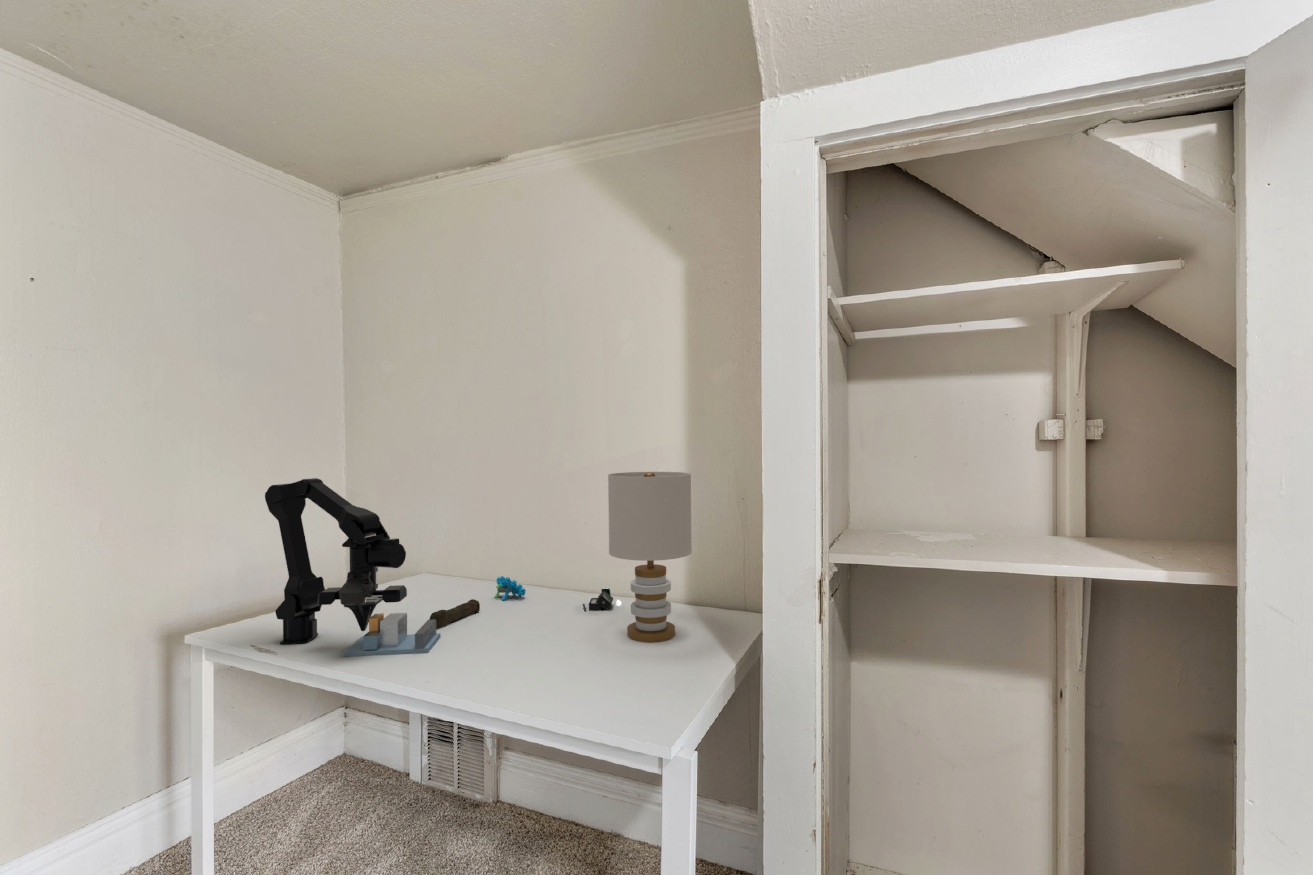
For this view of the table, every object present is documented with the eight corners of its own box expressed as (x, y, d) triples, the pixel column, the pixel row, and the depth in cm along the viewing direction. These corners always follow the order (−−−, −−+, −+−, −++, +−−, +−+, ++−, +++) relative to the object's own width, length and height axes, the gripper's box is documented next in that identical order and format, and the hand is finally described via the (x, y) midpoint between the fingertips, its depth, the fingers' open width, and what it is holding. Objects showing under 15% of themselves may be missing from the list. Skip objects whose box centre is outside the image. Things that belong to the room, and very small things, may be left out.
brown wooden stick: (469, 611, 175) (469, 595, 175) (480, 613, 173) (480, 597, 173) (420, 631, 157) (420, 614, 157) (432, 633, 156) (432, 615, 156)
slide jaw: (363, 649, 139) (363, 623, 139) (380, 634, 150) (380, 609, 150) (377, 649, 140) (376, 622, 140) (393, 633, 151) (392, 609, 151)
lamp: (685, 651, 140) (683, 475, 140) (599, 645, 144) (597, 474, 144) (697, 623, 161) (696, 469, 161) (621, 619, 165) (620, 469, 165)
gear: (532, 592, 188) (512, 574, 183) (523, 609, 185) (502, 590, 180) (510, 592, 195) (490, 574, 190) (501, 608, 191) (480, 590, 186)
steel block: (380, 647, 142) (380, 621, 142) (390, 637, 149) (390, 613, 149) (397, 646, 142) (397, 621, 142) (407, 636, 149) (406, 612, 149)
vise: (343, 656, 139) (343, 636, 139) (362, 640, 150) (361, 622, 150) (428, 652, 141) (428, 633, 141) (440, 637, 152) (440, 619, 152)
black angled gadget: (623, 617, 169) (623, 597, 169) (570, 617, 169) (569, 597, 169) (627, 602, 184) (626, 584, 184) (578, 602, 184) (577, 584, 184)
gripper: (305, 574, 136) (306, 643, 136) (391, 571, 138) (392, 640, 138) (328, 564, 147) (328, 628, 147) (407, 561, 149) (407, 625, 149)
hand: (363, 630), depth 145 cm, fingers closed
